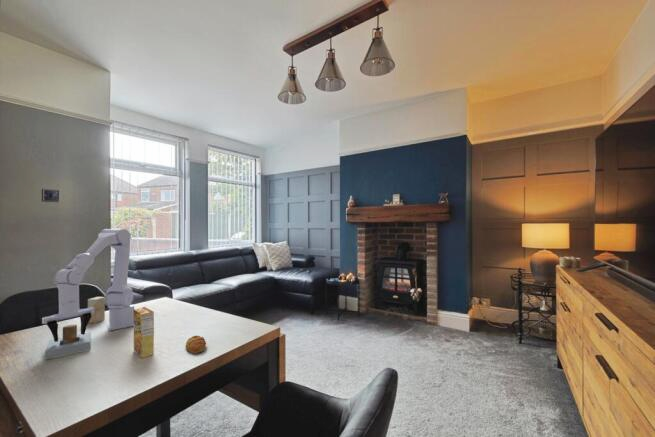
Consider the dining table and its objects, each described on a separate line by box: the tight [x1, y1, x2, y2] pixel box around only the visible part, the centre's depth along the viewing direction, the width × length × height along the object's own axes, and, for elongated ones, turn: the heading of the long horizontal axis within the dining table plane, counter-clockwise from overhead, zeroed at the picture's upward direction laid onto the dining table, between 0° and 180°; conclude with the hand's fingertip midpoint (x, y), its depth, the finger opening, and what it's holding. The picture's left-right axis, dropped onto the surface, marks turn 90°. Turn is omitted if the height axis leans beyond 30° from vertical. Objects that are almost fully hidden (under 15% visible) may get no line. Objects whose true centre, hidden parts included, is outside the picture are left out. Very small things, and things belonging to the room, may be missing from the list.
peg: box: [62, 324, 78, 345], centre depth 109 cm, size 4×4×8 cm
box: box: [87, 296, 106, 324], centre depth 139 cm, size 5×4×11 cm
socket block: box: [44, 332, 92, 361], centre depth 109 cm, size 12×12×3 cm
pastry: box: [184, 335, 207, 355], centre depth 107 cm, size 9×7×4 cm
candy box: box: [133, 306, 155, 359], centre depth 105 cm, size 9×4×15 cm, turn 50°
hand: (69, 337), depth 109 cm, fingers open, 7 cm apart
